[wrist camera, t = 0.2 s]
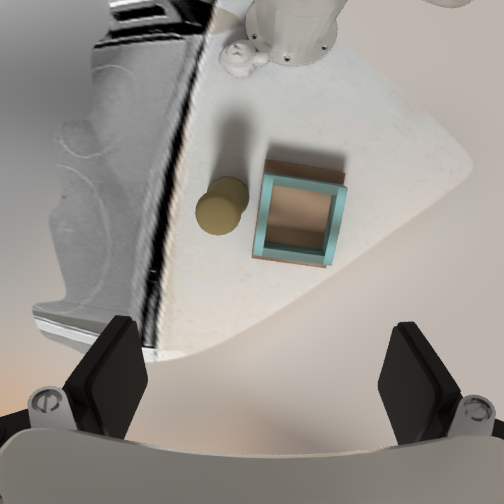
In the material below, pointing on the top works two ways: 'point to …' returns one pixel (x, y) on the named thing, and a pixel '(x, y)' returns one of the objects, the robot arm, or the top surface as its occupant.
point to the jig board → (299, 214)
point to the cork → (222, 206)
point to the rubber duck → (242, 58)
